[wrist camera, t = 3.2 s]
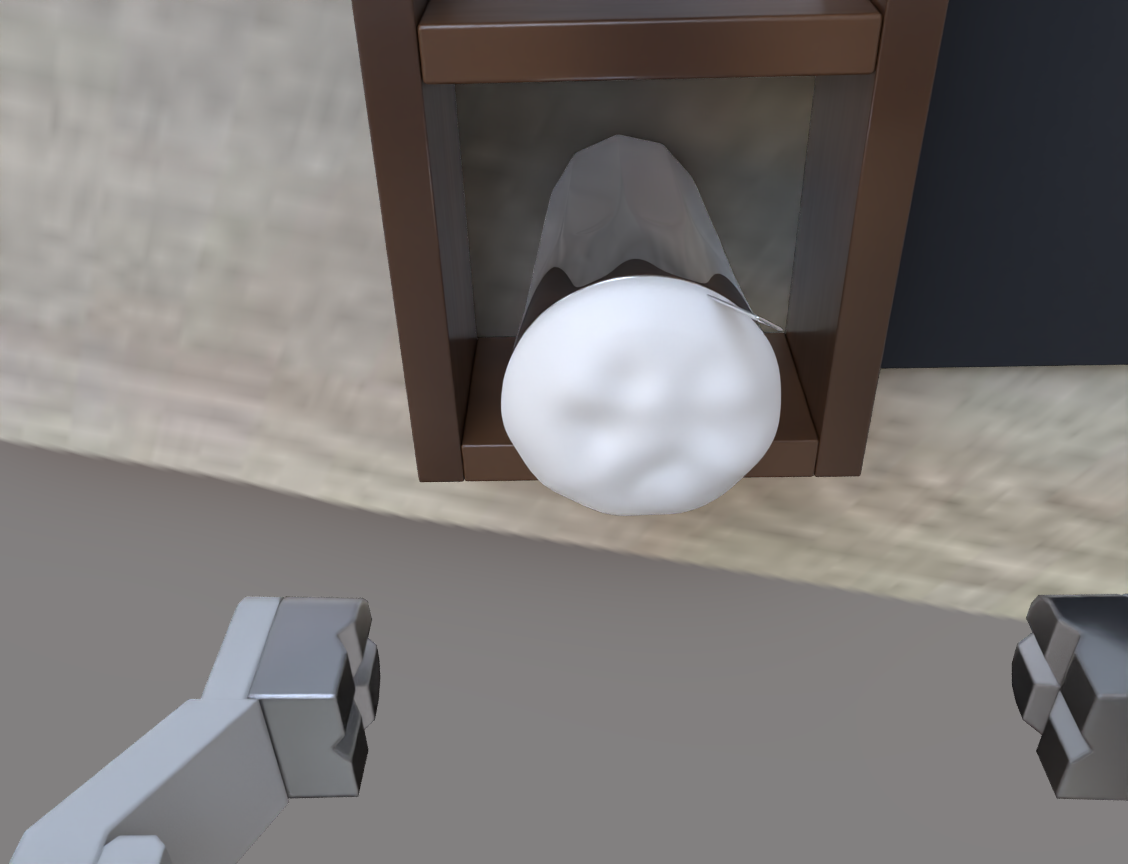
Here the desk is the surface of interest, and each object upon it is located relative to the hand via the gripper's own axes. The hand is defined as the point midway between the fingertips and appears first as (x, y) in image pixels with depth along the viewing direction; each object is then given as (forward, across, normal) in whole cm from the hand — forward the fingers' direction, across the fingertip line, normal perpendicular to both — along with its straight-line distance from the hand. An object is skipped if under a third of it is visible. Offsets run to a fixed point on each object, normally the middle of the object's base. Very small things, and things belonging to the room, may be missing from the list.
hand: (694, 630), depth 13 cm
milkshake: (+13, 0, 0) cm, 13 cm away
